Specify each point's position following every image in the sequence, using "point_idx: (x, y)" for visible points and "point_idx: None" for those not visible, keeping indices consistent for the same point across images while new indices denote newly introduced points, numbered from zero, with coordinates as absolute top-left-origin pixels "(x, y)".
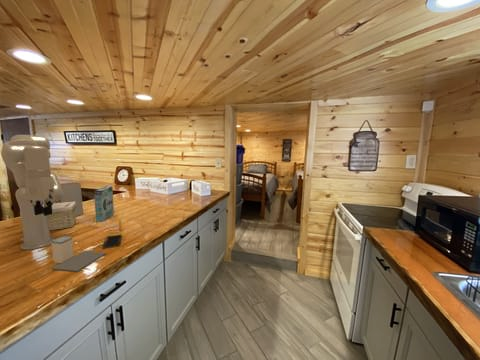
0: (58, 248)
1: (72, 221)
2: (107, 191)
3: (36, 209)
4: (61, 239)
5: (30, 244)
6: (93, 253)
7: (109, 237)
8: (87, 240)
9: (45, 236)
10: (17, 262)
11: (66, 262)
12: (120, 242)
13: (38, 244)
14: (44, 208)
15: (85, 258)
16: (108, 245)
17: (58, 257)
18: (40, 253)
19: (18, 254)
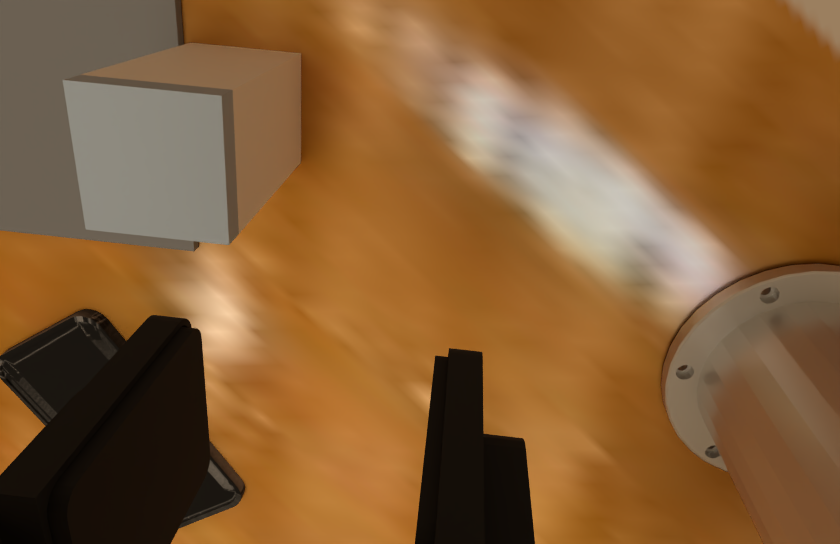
0: (162, 70)
1: None
2: None
3: (425, 479)
4: (145, 156)
5: (804, 314)
6: (61, 208)
7: (211, 489)
8: (378, 447)
9: (722, 420)
10: (661, 24)
11: (141, 33)
12: (38, 410)
13: (736, 333)
14: (32, 466)
15: (41, 117)
16: (76, 352)
17: (219, 54)
18: (595, 206)
19: (807, 178)
